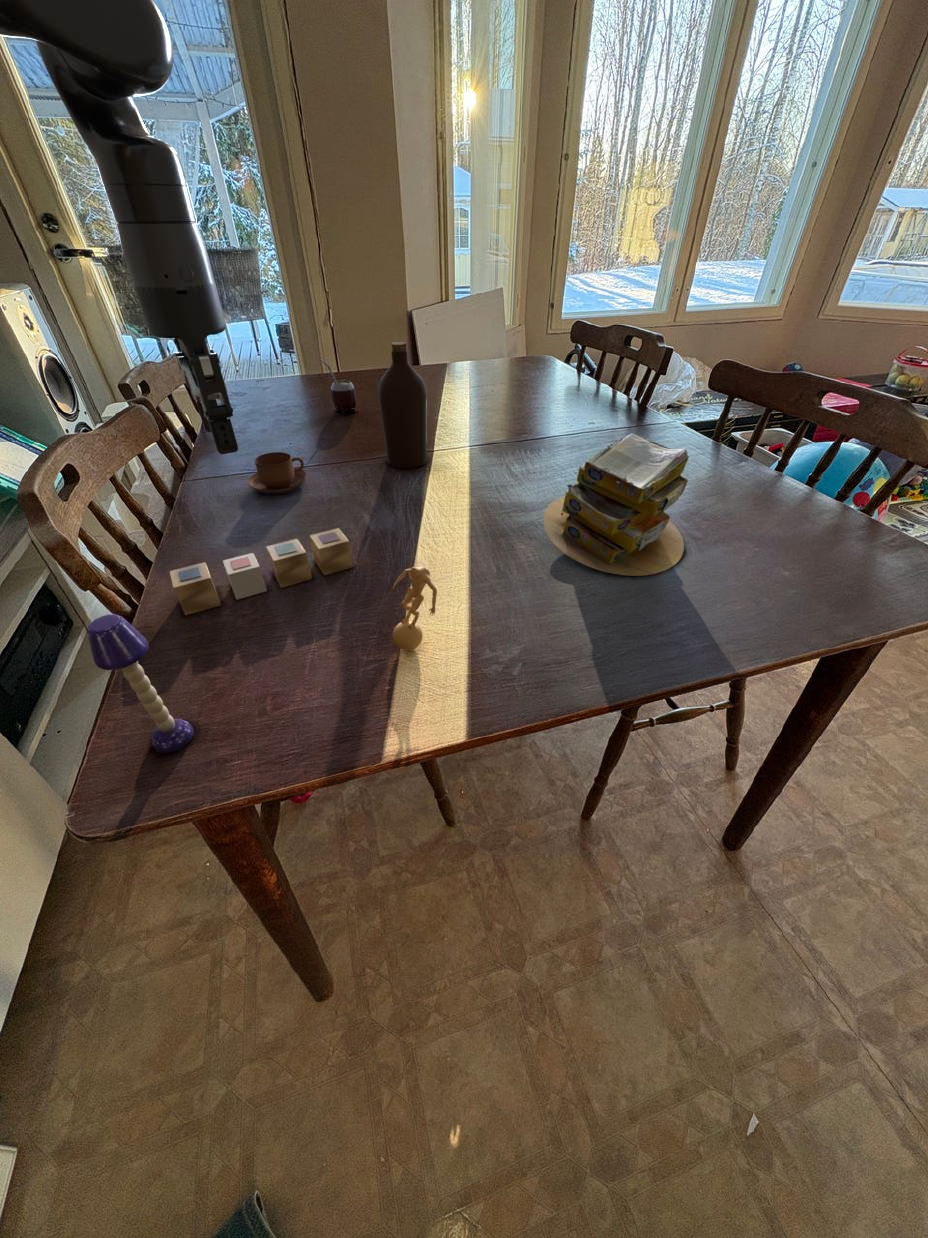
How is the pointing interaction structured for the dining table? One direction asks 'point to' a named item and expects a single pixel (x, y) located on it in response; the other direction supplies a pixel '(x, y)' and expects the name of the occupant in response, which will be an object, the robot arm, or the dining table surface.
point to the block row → (286, 565)
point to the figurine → (413, 608)
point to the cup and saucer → (277, 473)
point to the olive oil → (403, 411)
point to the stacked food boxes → (622, 509)
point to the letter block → (245, 575)
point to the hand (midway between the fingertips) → (221, 441)
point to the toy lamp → (136, 676)
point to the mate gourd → (342, 394)
